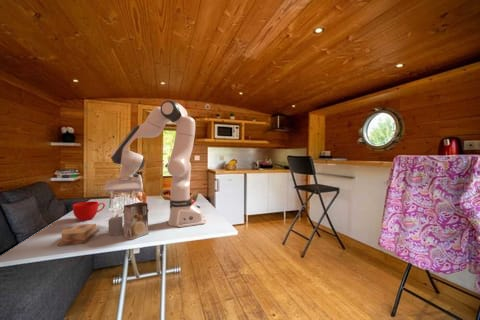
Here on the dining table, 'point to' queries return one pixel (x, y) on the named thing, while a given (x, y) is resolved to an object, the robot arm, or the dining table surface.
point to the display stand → (78, 234)
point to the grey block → (115, 226)
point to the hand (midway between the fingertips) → (121, 197)
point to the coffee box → (135, 220)
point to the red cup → (86, 210)
